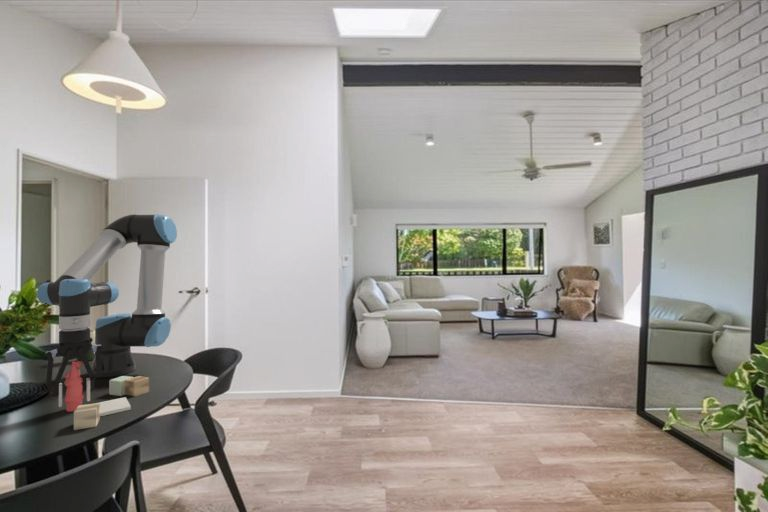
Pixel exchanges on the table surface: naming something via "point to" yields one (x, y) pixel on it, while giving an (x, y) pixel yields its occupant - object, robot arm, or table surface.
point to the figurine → (73, 387)
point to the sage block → (118, 385)
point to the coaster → (114, 406)
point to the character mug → (91, 353)
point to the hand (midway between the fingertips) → (74, 402)
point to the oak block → (136, 386)
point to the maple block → (86, 416)
